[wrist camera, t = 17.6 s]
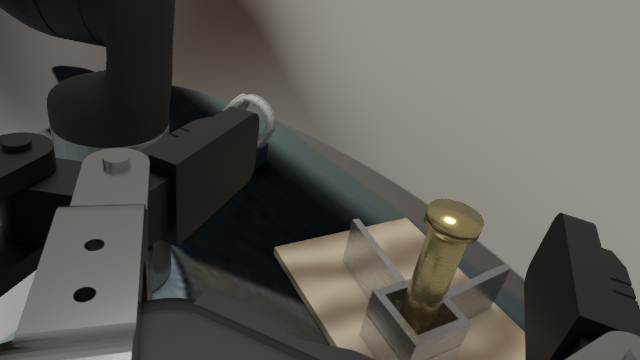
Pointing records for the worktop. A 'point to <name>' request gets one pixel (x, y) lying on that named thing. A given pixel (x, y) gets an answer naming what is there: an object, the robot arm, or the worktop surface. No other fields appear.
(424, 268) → the hinge pin
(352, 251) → the hinge
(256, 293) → the worktop surface
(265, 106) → the watch
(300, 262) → the board
